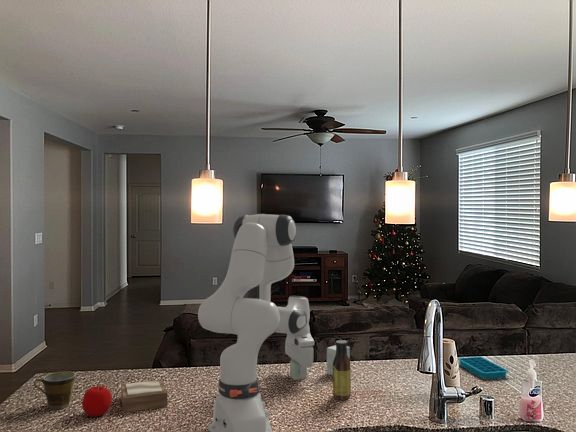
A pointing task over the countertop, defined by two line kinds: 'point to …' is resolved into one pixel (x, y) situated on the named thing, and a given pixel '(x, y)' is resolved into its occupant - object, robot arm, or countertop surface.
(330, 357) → the small box
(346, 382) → the sauce bottle
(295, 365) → the block
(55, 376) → the ceramic cup
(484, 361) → the ice cube tray
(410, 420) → the countertop surface
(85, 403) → the fruit
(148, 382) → the base
